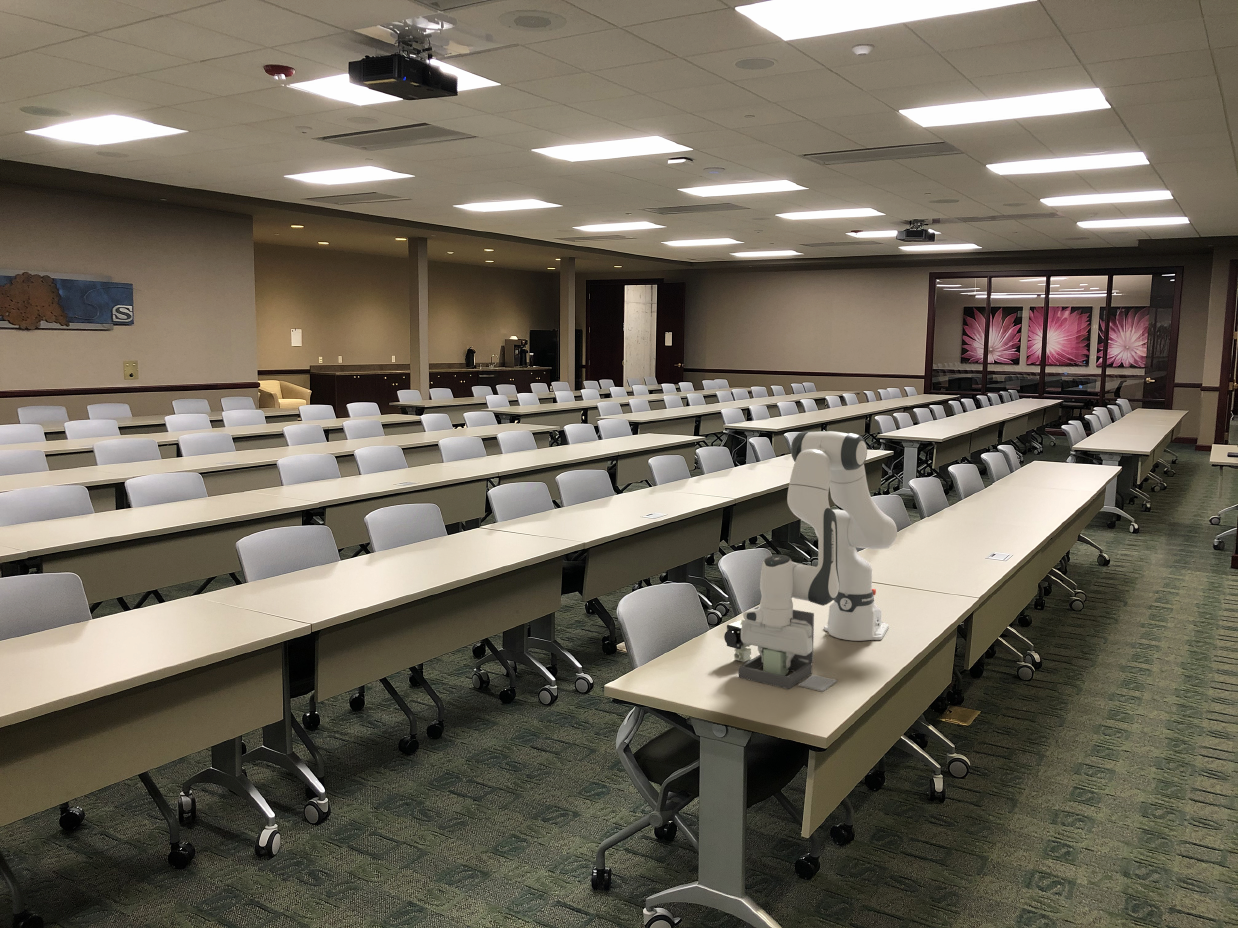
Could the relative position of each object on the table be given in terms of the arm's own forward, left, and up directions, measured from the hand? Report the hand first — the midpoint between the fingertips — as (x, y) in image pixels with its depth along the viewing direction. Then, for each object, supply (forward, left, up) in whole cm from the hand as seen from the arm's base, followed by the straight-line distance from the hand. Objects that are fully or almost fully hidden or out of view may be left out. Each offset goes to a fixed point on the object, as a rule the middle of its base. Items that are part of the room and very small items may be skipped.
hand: (775, 664), depth 245 cm
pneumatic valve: (-6, -13, -3) cm, 15 cm away
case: (0, 0, -3) cm, 3 cm away
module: (0, 0, -3) cm, 3 cm away
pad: (-1, +12, -3) cm, 12 cm away
